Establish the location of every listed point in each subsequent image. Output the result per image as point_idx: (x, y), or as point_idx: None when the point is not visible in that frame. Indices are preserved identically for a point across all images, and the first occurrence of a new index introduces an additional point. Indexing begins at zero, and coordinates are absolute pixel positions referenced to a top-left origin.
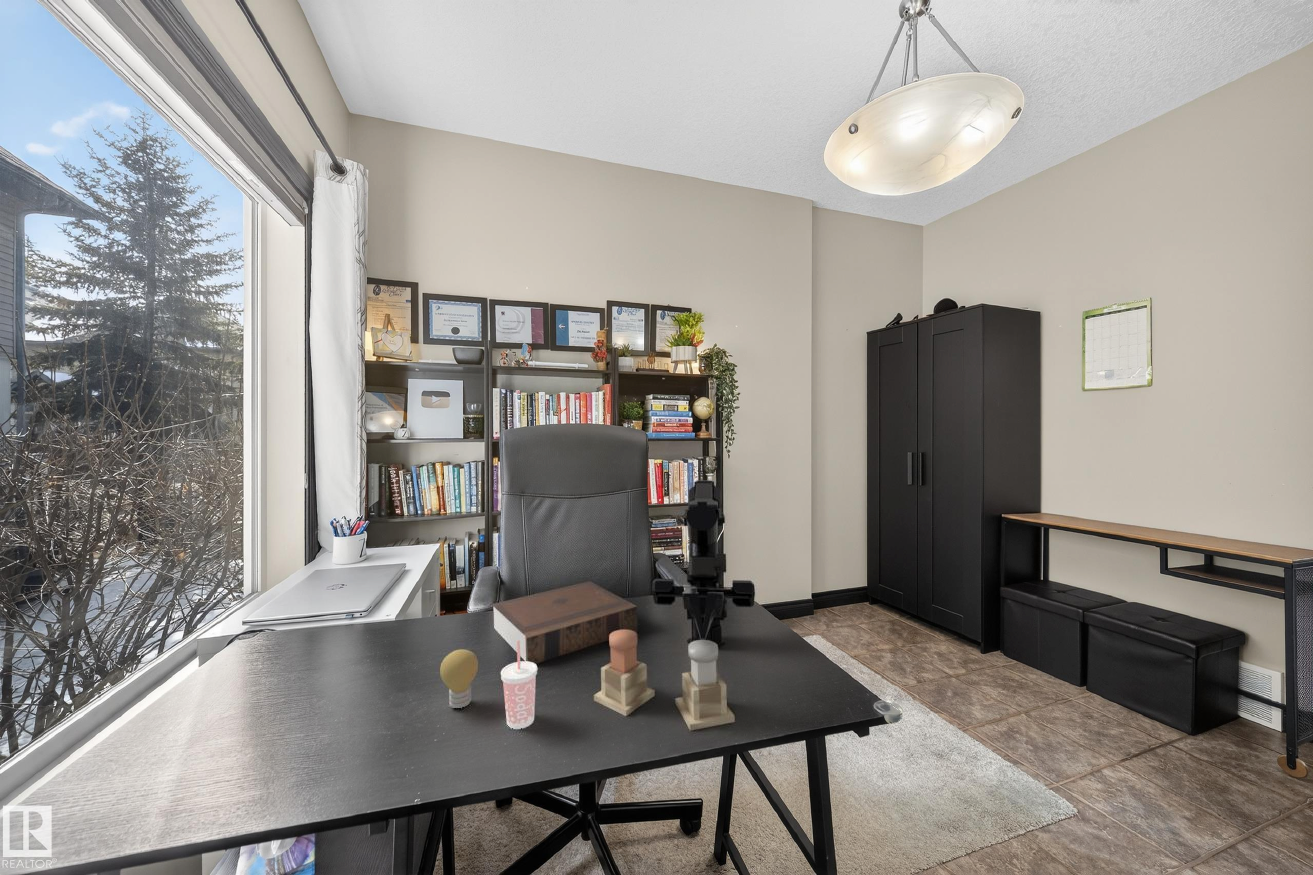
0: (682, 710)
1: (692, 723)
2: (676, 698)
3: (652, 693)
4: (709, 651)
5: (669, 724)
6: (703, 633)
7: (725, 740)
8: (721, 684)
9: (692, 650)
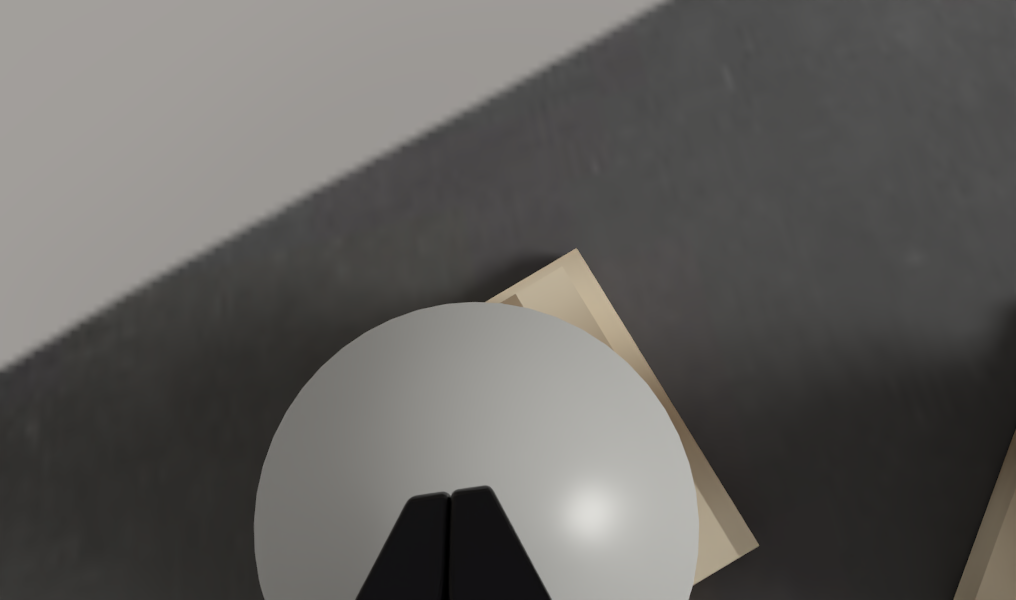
0: (666, 397)
1: (563, 263)
2: (751, 546)
3: (968, 595)
4: (361, 384)
5: (728, 288)
6: (437, 534)
7: (342, 218)
8: None
9: (605, 361)
